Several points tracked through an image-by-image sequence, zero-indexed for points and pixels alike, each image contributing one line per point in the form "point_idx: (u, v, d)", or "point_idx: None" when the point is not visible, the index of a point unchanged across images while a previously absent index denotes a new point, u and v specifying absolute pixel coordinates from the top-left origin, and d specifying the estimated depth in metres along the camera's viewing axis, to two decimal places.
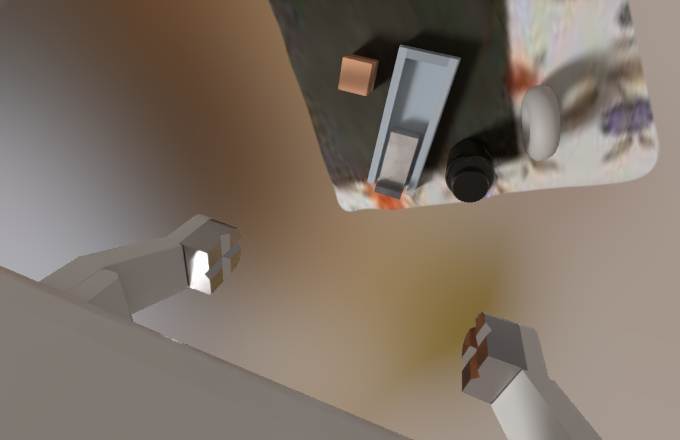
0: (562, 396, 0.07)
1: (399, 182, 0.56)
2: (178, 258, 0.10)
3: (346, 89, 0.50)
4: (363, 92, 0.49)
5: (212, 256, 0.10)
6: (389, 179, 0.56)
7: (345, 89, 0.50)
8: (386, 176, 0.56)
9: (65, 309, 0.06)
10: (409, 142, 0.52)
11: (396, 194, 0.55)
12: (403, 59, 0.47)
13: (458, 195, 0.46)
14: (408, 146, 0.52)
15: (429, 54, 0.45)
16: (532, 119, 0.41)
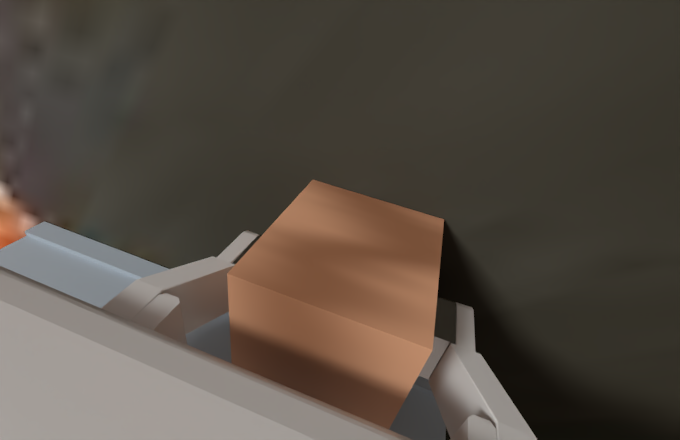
0: (484, 367, 0.08)
1: None
2: None
3: (237, 316, 0.08)
4: None
5: None
6: None
7: (236, 311, 0.08)
8: None
9: (65, 309, 0.06)
10: None
11: None
12: None
13: None
14: None
15: None
16: None
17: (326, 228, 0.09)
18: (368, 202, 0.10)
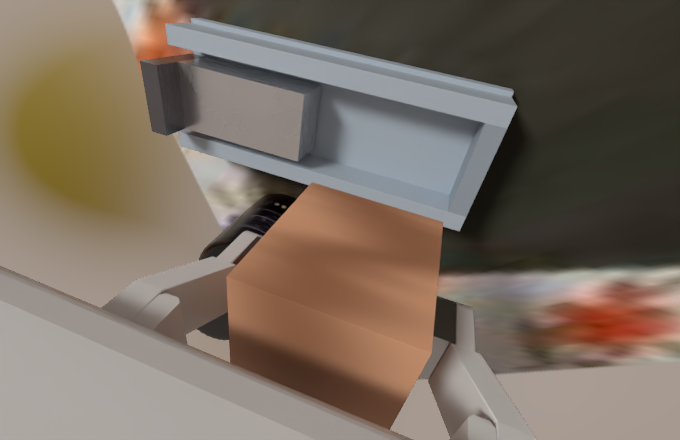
0: (484, 367, 0.08)
1: (194, 119, 0.23)
2: None
3: (236, 319, 0.08)
4: None
5: None
6: (192, 93, 0.22)
7: (235, 314, 0.08)
8: (196, 85, 0.22)
9: (65, 309, 0.06)
10: (287, 141, 0.22)
11: (159, 123, 0.22)
12: (482, 118, 0.18)
13: None
14: (278, 139, 0.22)
15: (481, 178, 0.20)
16: None
17: (325, 231, 0.09)
18: (367, 205, 0.10)
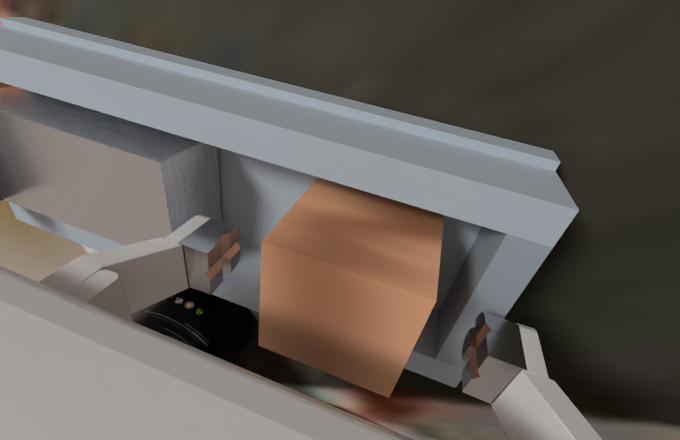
0: (562, 396, 0.07)
1: (10, 187, 0.14)
2: (178, 258, 0.10)
3: (267, 280, 0.09)
4: (271, 340, 0.10)
5: (212, 256, 0.10)
6: None
7: (267, 275, 0.09)
8: None
9: (65, 309, 0.06)
10: (153, 234, 0.12)
11: None
12: (500, 225, 0.09)
13: None
14: (138, 229, 0.13)
15: None
16: None
17: (342, 207, 0.10)
18: None
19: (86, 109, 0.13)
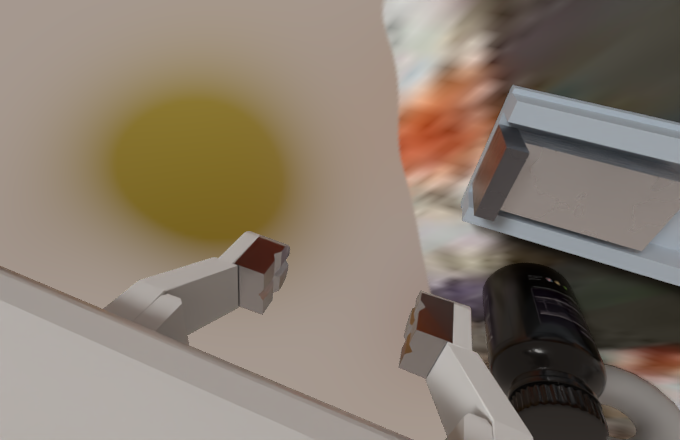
0: (481, 366, 0.08)
1: (512, 199, 0.21)
2: (233, 279, 0.09)
3: None
4: None
5: (267, 276, 0.09)
6: (526, 175, 0.20)
7: None
8: (538, 167, 0.19)
9: (65, 309, 0.06)
10: (639, 231, 0.19)
11: (489, 209, 0.20)
12: None
13: (538, 411, 0.19)
14: (627, 227, 0.19)
15: None
16: None
17: None
18: None
19: (586, 149, 0.20)
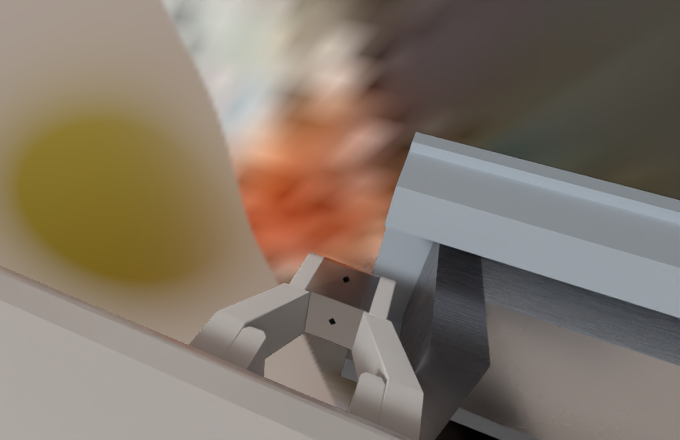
0: (391, 333, 0.08)
1: None
2: (304, 305, 0.09)
3: None
4: None
5: None
6: (493, 357, 0.09)
7: None
8: (519, 349, 0.08)
9: (65, 309, 0.06)
10: None
11: None
12: None
13: None
14: None
15: None
16: None
17: None
18: None
19: None
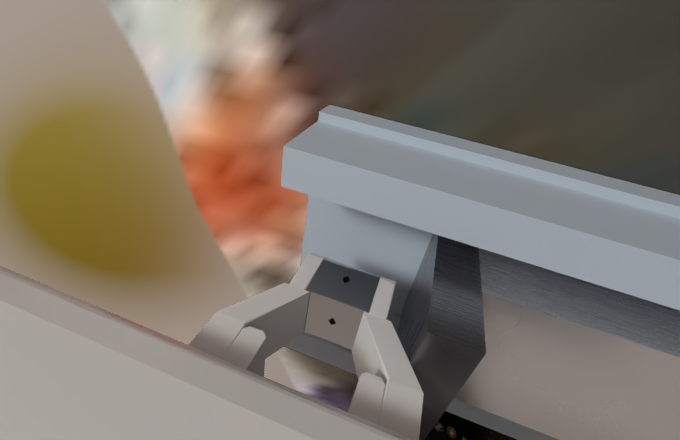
0: (391, 333, 0.08)
1: (465, 383, 0.10)
2: (304, 305, 0.09)
3: None
4: None
5: None
6: (490, 348, 0.09)
7: None
8: (515, 339, 0.08)
9: (65, 309, 0.06)
10: None
11: None
12: None
13: None
14: None
15: None
16: None
17: None
18: None
19: None
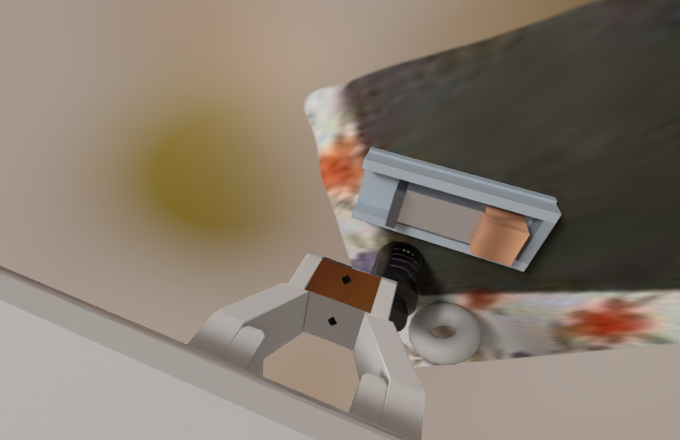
0: (393, 333, 0.08)
1: (406, 217, 0.40)
2: (303, 305, 0.09)
3: (483, 232, 0.36)
4: (475, 251, 0.37)
5: None
6: (410, 205, 0.39)
7: (483, 231, 0.36)
8: (415, 201, 0.38)
9: (65, 309, 0.06)
10: (466, 233, 0.38)
11: (391, 222, 0.39)
12: (542, 218, 0.35)
13: None
14: (460, 232, 0.38)
15: (539, 245, 0.37)
16: (455, 348, 0.42)
17: (496, 213, 0.37)
18: None
19: (441, 192, 0.39)
